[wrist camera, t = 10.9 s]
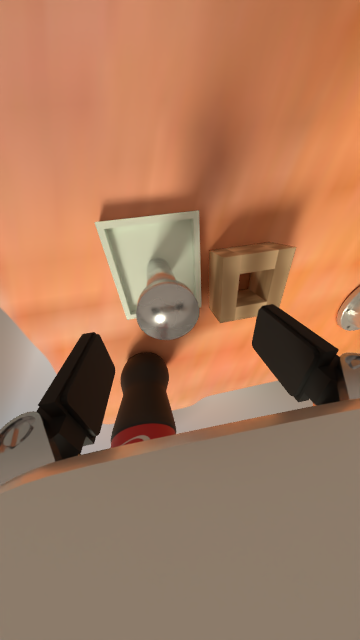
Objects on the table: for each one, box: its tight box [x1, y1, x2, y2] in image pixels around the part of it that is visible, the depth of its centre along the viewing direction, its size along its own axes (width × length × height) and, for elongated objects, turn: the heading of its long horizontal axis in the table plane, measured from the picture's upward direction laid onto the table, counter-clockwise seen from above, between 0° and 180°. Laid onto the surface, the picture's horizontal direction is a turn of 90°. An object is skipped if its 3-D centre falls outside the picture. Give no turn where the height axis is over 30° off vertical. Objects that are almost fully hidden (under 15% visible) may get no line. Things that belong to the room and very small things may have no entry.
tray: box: [95, 210, 201, 320], centre depth 21 cm, size 11×12×2 cm
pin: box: [136, 258, 199, 340], centre depth 17 cm, size 5×5×12 cm
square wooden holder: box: [209, 242, 296, 323], centre depth 23 cm, size 9×9×5 cm
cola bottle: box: [111, 353, 176, 448], centre depth 19 cm, size 8×8×30 cm
